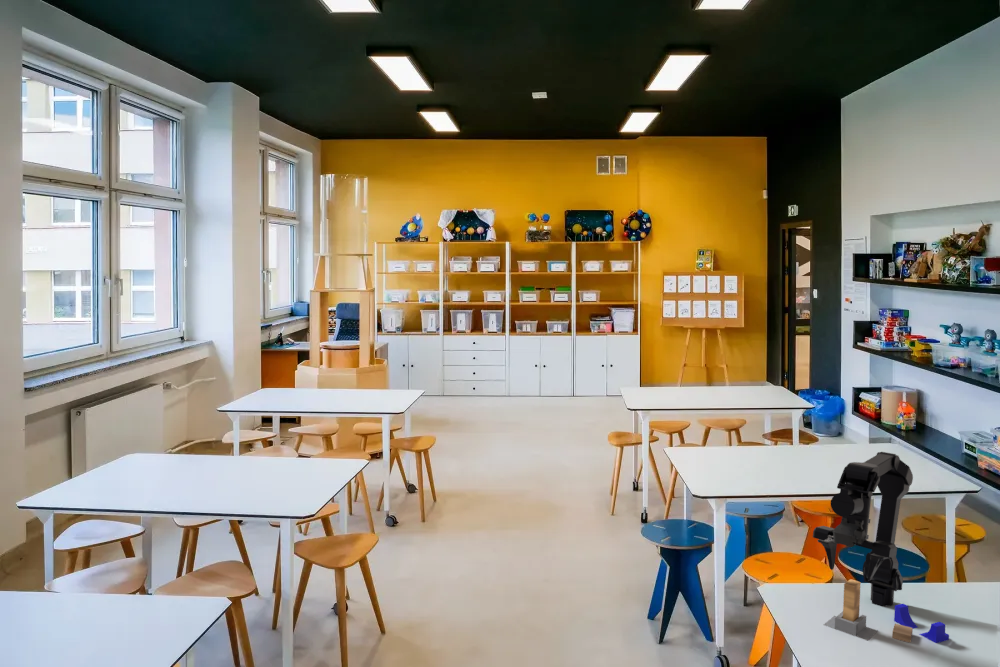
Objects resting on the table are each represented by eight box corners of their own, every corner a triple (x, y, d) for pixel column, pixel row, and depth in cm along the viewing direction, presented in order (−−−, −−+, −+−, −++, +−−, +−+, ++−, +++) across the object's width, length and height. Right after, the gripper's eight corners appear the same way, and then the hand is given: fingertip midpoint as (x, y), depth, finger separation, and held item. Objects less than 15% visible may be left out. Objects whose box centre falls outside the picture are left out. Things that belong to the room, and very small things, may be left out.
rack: (834, 621, 194) (834, 604, 193) (877, 636, 186) (878, 619, 186) (823, 630, 189) (823, 613, 189) (867, 646, 181) (868, 628, 181)
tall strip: (848, 623, 190) (850, 579, 189) (858, 626, 188) (860, 582, 187) (842, 628, 187) (844, 583, 186) (852, 632, 185) (854, 586, 184)
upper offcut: (894, 630, 186) (894, 623, 186) (912, 634, 184) (912, 627, 184) (892, 638, 182) (892, 631, 182) (910, 642, 180) (910, 635, 180)
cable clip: (948, 646, 181) (949, 623, 181) (935, 649, 180) (936, 626, 179) (906, 624, 193) (907, 602, 192) (893, 627, 191) (894, 605, 190)
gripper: (807, 506, 186) (800, 567, 186) (884, 525, 173) (877, 591, 173) (824, 504, 194) (818, 562, 194) (900, 522, 181) (893, 584, 180)
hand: (850, 574), depth 185 cm, fingers open, 9 cm apart
